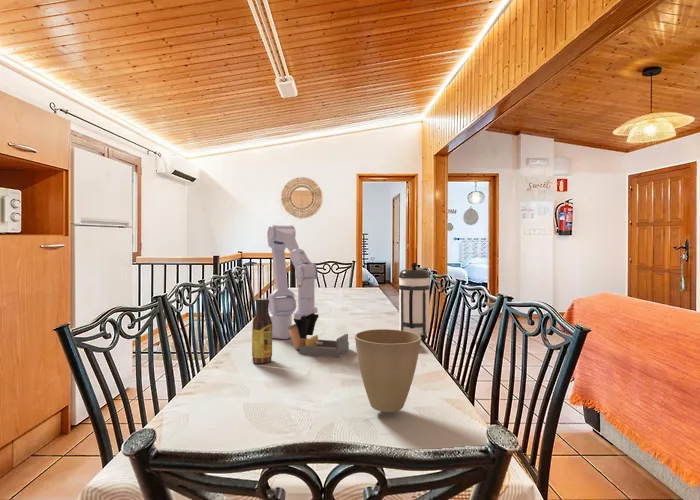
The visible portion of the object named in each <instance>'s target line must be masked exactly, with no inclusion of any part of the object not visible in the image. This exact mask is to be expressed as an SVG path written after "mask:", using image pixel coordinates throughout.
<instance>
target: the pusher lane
mask: <svg viewBox="0 0 700 500" xmlns="http://www.w3.org/2000/svg"><path fill="white" fill-rule="evenodd" d="M318 342H323V345H317V346H316V347H315V346H304V345H300V346H299V349H298V350H299V355H306V356H316V357H317V356H318V357H324V358H326V357H327V358H336V359H337V358H340V357H341V356H342V355H344V354H345V353H346V352H348V351H349V350H350V349H349V348H350V346H349V345H350V343H349V334H348V333H344V334H342V335H341V336H339V337H338V338H336V340H330V339H329V340H328V339H319V338H318Z"/></svg>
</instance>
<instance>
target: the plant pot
mask: <svg viewBox="0 0 700 500" xmlns="http://www.w3.org/2000/svg"><path fill="white" fill-rule="evenodd" d="M354 340H355V348H356V357H357V361H358V366H359V367H358V368H359V370H360V376H361V378H362V382H363V387H364V389H365V393H366V396H367V399H368V401H369V402H368V403H369V405H370V407H371V408H372V409H373V410H376V411H378V412H383V413H394V412H398V411H399V412H400V411H401V410H403V408H404V405H405V403H406V401H407V398H408V395H409V392H410V390H411V387H412V383H413V379H414V376H415V372H416V369H417V364H418V360H419V354H420V347H421V340H422V337H421V336H419V335H418V334H415V333H412V332H408V331H401V330H400V329H387V328H385V329H384V328H383V329H382V328H380V329H379V328H377V329H375V328H374V329H367V330H362V331H358V332H356V333H355V334H354Z"/></svg>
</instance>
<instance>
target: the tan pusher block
mask: <svg viewBox="0 0 700 500" xmlns="http://www.w3.org/2000/svg"><path fill="white" fill-rule="evenodd" d="M318 339H319V335H318V334H315V335H312V336H311V337H309V338H307V340H306V346H315V347H316V346H317V345H323V342H318Z"/></svg>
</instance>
